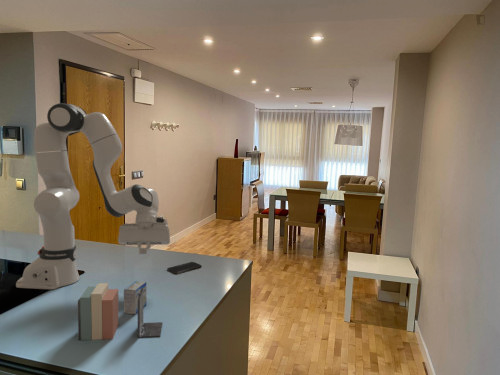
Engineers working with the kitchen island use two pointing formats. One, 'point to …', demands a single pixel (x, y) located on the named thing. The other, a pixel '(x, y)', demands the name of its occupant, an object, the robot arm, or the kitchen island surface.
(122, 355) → the kitchen island surface
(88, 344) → the kitchen island surface
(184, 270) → the phone
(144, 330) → the bookends
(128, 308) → the medicine box
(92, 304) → the books
